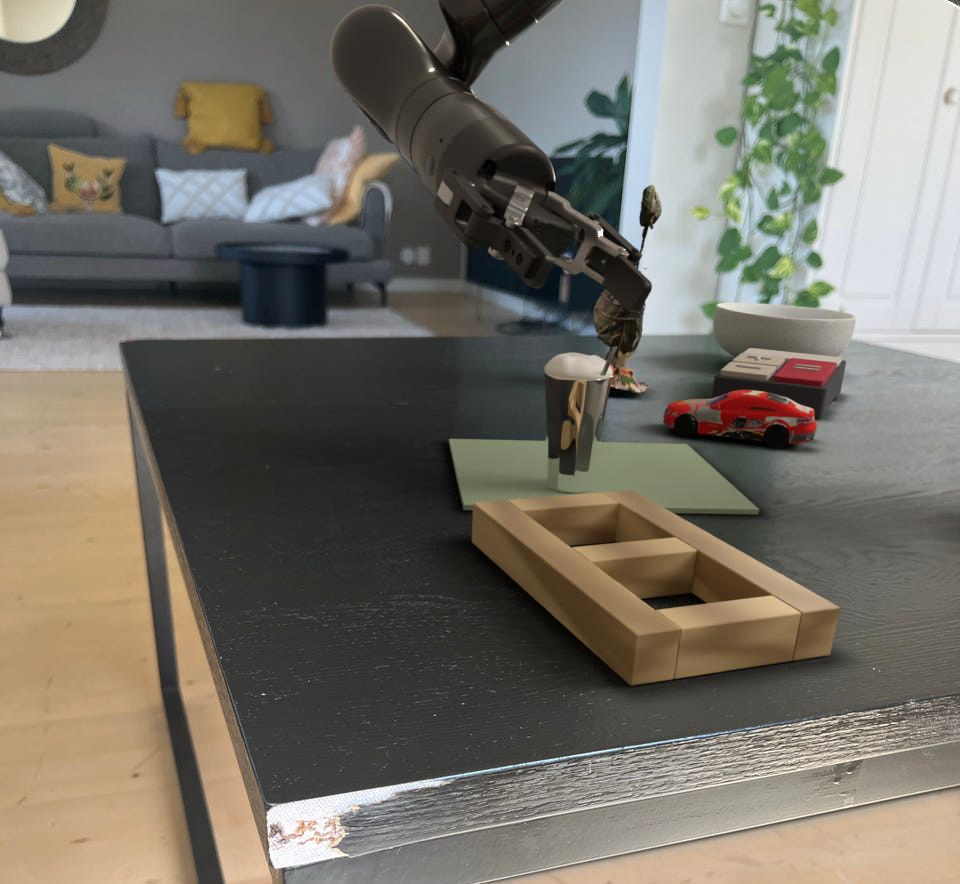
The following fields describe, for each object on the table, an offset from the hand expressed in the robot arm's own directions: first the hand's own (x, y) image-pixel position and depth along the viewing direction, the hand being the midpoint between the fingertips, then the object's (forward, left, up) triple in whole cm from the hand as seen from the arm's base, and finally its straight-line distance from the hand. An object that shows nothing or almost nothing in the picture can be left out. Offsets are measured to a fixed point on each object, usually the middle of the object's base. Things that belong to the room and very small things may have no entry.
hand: (595, 287), depth 62 cm
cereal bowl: (-35, -57, -14) cm, 69 cm away
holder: (0, +17, -14) cm, 22 cm away
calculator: (-28, -37, -14) cm, 49 cm away
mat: (-2, -6, -14) cm, 15 cm away
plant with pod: (-11, -41, -14) cm, 45 cm away
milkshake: (0, -1, -14) cm, 14 cm away
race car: (-18, -20, -14) cm, 30 cm away
